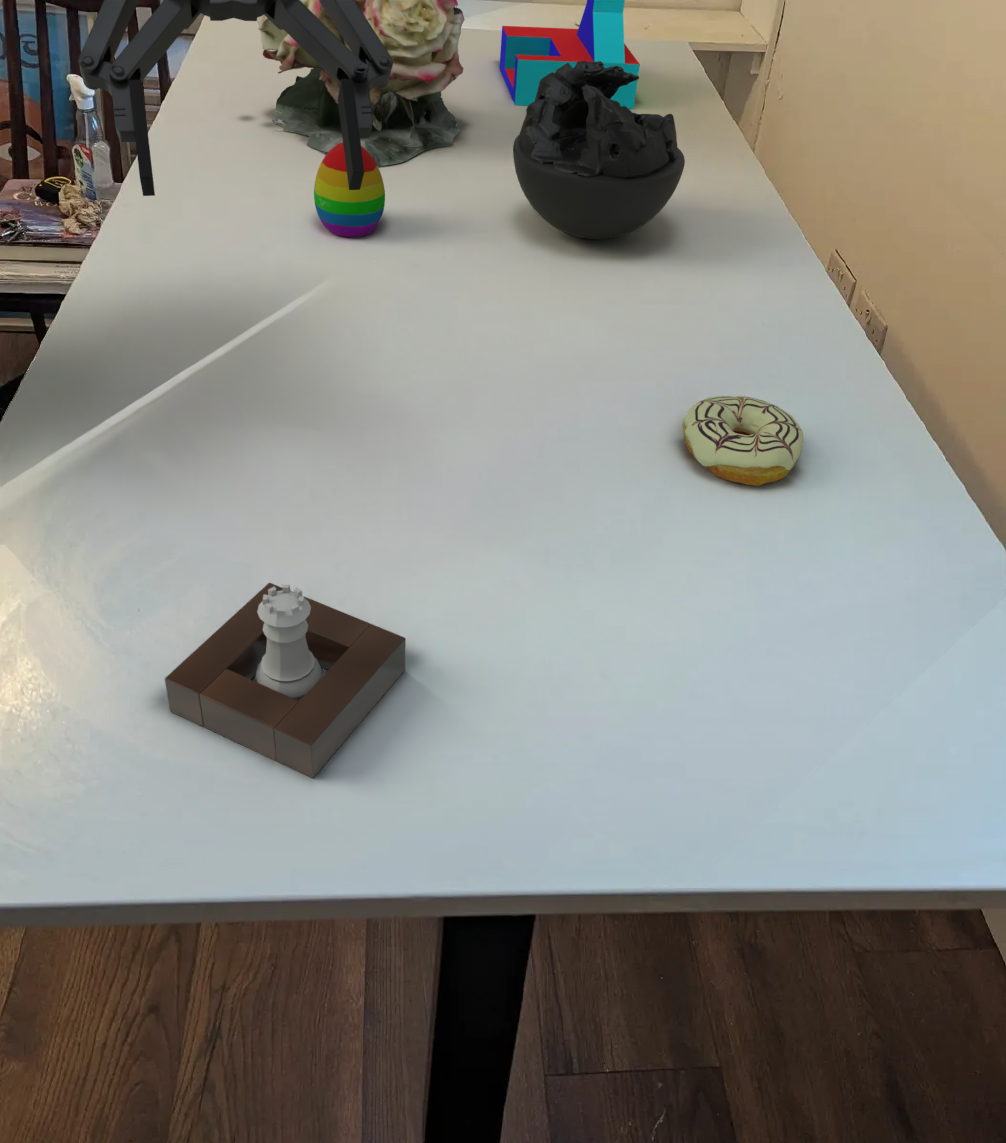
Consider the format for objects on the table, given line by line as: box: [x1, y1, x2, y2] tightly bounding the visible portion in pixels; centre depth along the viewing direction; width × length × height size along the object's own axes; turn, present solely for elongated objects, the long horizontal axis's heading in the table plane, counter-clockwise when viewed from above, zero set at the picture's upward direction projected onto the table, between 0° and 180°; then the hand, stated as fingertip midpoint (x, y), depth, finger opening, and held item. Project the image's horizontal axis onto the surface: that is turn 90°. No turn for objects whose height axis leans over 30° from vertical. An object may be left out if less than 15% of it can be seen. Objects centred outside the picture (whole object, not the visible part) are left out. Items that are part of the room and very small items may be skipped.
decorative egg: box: [313, 142, 386, 238], centre depth 130 cm, size 8×8×10 cm
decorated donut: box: [681, 395, 805, 487], centre depth 99 cm, size 10×11×4 cm
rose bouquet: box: [256, 0, 466, 168], centre depth 149 cm, size 26×29×30 cm
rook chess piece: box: [254, 584, 323, 701], centre depth 72 cm, size 4×4×8 cm
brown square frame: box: [164, 582, 407, 779], centre depth 73 cm, size 11×11×3 cm
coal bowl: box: [512, 61, 686, 240], centre depth 131 cm, size 20×20×19 cm
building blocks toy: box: [499, 0, 641, 110], centre depth 178 cm, size 19×25×18 cm
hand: (254, 184), depth 74 cm, fingers open, 13 cm apart
